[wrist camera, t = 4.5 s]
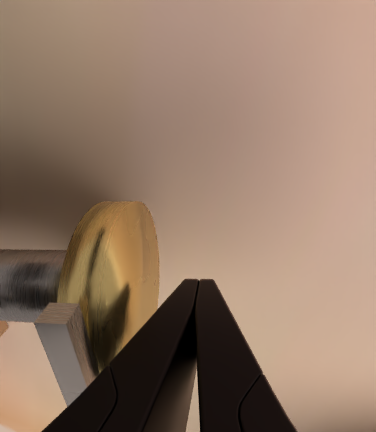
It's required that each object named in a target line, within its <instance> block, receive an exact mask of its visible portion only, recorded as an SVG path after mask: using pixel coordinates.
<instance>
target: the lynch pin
mask: <svg viewBox="0 0 376 432" xmlns="http://www.w3.org/2000/svg"><path fill="white" fill-rule="evenodd" d="M158 295H159V251H158V242H157V235H156V230H155V226H154V222H153V219H152V216H151V214H150V211H149V210H148V208H147V207H146V206H145V204H143V203H142V202H138V201H126V202H100V203H98V204H96V205H94V206H93V207H92V208H91V209H89V211H88V212H87V213H86V214H85V215H84V216H83V218H82V219H81V221H80V222H79V224H78V226H77V228H76V230H75V232H74V234H73V236H72V238H71V241H70V243H69V246H68V249H67V250H10V249H0V321H14V322H34V324H35V327H36V329H37V332H38V334H39V337H40V339H41V342H42V344H43V347H44V349H45V352H46V354H47V357H48V359H49V362H50V364H51V367H52V369H53V372H54V374H55V377H56V379H57V382H58V384H59V387H60V389H61V392H62V394H63V397H64V399H65V402H66V404H67V407H68V406H69V405H70V404H71V403H72V402H73V401H74V400H75V399H76V398H77V397H78V396H79V395H80V394H81V393H82V392H83V391H84V390H85V389H86V388H87V387H88V385H89V384H90V383H91V382H92V381H93V380H94V379H95V378H96V377H97V376H98V375H99V374H100V373H101V371H102V370H103V369H104V368H105V367H106V366H107V365H109V363H110V362H111V361H112V359H113V358H114V357H115V356H116V355H117V354H118V353H119V352H120V351H121V349H122V348H123V347H124V346H125V345H126V344H127V343H128V342H129V341H130V339H131V338H132V337H133V336H134V335H135V334H136V333H137V332H138V331H139V329H140V328H141V327H142V326H143V325H144V324H145V323H146V322H147V321H148V319H149V318H150V317H151V316H152V315H153V314H154V313H155V312H156V311H157V306H158ZM109 366H110V365H109Z"/></svg>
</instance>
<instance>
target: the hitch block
mask: <svg viewBox="0 0 376 432" xmlns="http://www.w3.org/2000/svg"><path fill="white" fill-rule="evenodd" d="M8 328H9V327H8V325H7V323H6V321H0V337H1V335H2V334H3V333H4V332H5V331H6V330H7V329H8Z"/></svg>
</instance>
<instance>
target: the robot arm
mask: <svg viewBox="0 0 376 432" xmlns="http://www.w3.org/2000/svg"><path fill="white" fill-rule="evenodd" d="M109 365H110V366H109ZM109 365H107V366H106V367H105V368H104V369H103V370H102V371H101V373H100V374H99V375H98V376H97V377H96V378H95V379H94V380H93V381H92V382H91V383H90V384H89V385H88V387H87V388H86V389H85V390H84V391H83V392H82V393H81V394H80V395H79V396H78V397H77V398H76V399H75V400H74V401H73V402H72V403H71V404H70V405H69V406H68V407H67V408H66V409H65V410H64V411H63V412H62V413H61V414H60V415H59V416H58V417H56V418H55V419H54V420H53V421H52V422H51V423H50V424H49V425H48V426H47V427H46V428H45V429H44V430H43V431H42V432H186V426H187V420H188V415H189V409H190V403H191V397H192V392H193V386H194V380H195V374H196V369H197V376H198V395H199V415H200V432H297V430H296V428H295V427H294V425H293V424H292V422H291V421H290V419H289V418H288V416H287V414H286V413H285V411H284V409H283V407H282V406H281V404H280V402H279V400H278V399H277V397H276V395H275V393H274V392H273V390H272V388H271V386H270V384H269V382H268V381H267V379H266V377H265V375H263V372H262V370H261V368H260V366H259V364H258V362H257V360H256V358H255V356H254V355H253V353H252V351H251V349H250V347H249V345H248V343H247V341H246V339H245V338H244V336H243V334H242V332H241V330H240V328H239V326H238V324H237V322H236V321H235V319H234V317H233V315H232V313H231V311H230V309H229V307H228V305H227V304H226V302H225V300H224V298H223V296H222V294H221V292H220V290H219V289H218V287H217V285H216V283H215V281H214V280H213V279H201V280H200V281H199V280H198V279H185V280H184V281H183V282H182V283H181V284H180V285H179V286H178V287H177V288H176V289H175V291H174V292H173V293H172V294H171V295H170V296H169V297H168V298H167V299H166V301H165V302H164V303H163V304H162V305H161V306H160V307H159V308H158V309H157V311H156V312H155V313H154V314H153V315H152V316H151V317H150V318H149V319H148V321H147V322H146V323H145V324H144V325H143V326H142V327H141V328H140V329H139V331H138V332H137V333H136V334H135V335H134V336H133V337H132V338H131V339H130V341H129V342H128V343H127V344H126V345H125V346H124V347H123V348H122V349H121V351H120V352H119V353H118V354H117V355H116V356H115V357H114V358H113V359H112V361H111V362H110V363H109Z"/></svg>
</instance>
